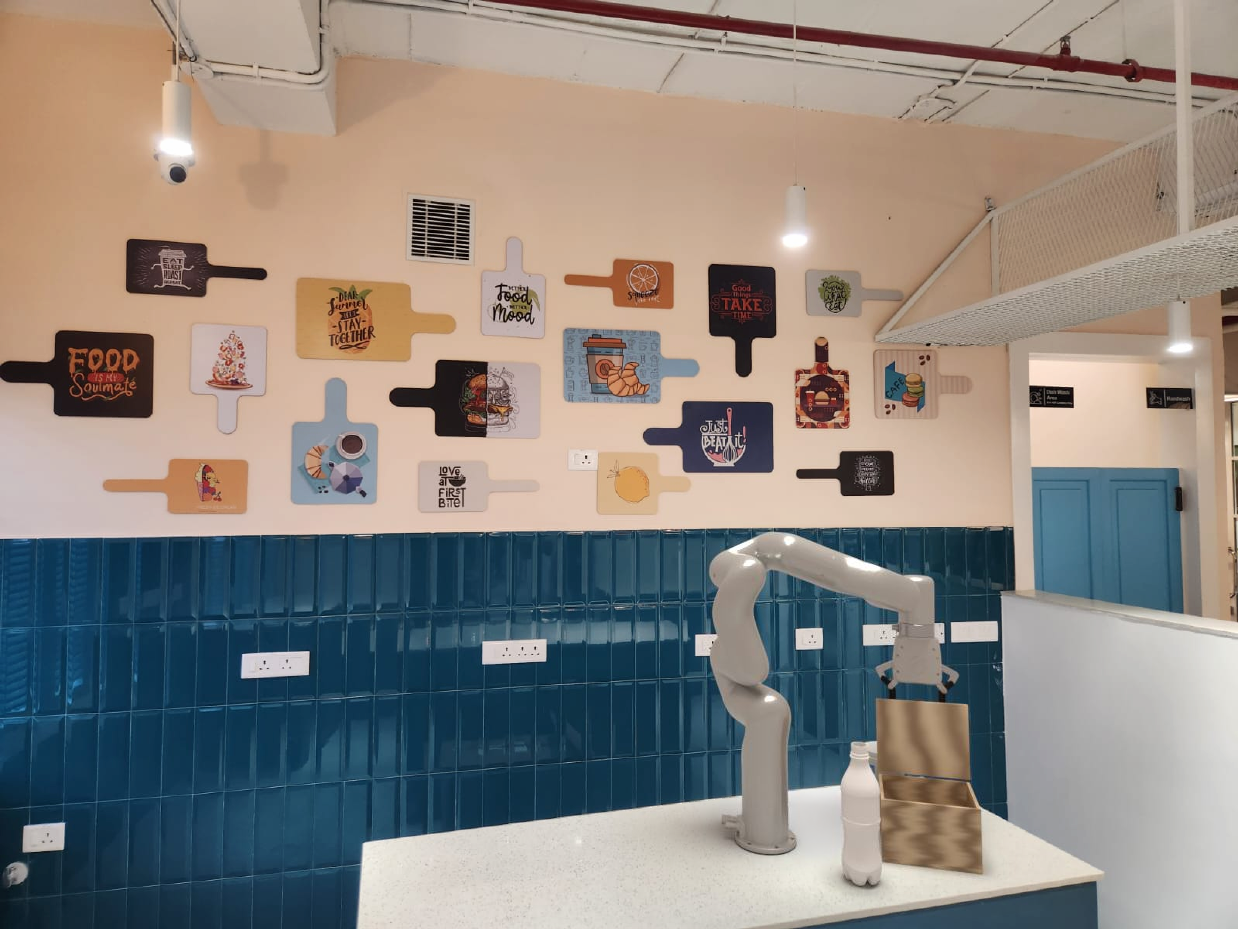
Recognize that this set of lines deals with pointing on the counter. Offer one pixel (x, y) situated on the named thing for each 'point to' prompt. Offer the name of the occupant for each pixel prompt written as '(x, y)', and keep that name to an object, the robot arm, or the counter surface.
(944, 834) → the wooden box
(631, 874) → the counter surface
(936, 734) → the lid
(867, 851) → the water bottle
